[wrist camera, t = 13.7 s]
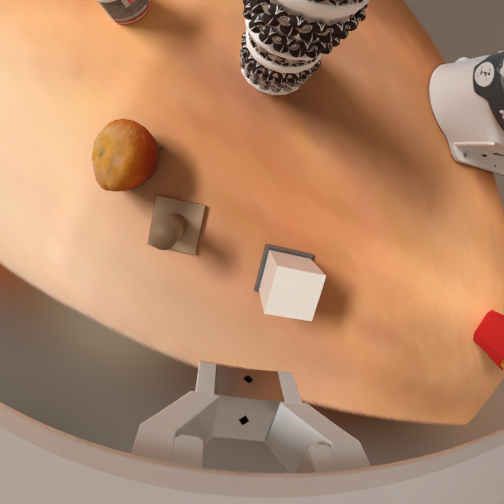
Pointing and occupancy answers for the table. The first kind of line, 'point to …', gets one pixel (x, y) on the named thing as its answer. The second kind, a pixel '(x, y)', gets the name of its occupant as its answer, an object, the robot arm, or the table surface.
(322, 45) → the black white cylinder
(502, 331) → the french fries
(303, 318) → the white rectangular block
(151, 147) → the fruit
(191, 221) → the knob on square plate
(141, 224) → the table surface
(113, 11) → the pill bottle
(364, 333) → the table surface
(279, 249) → the grey square post stand
